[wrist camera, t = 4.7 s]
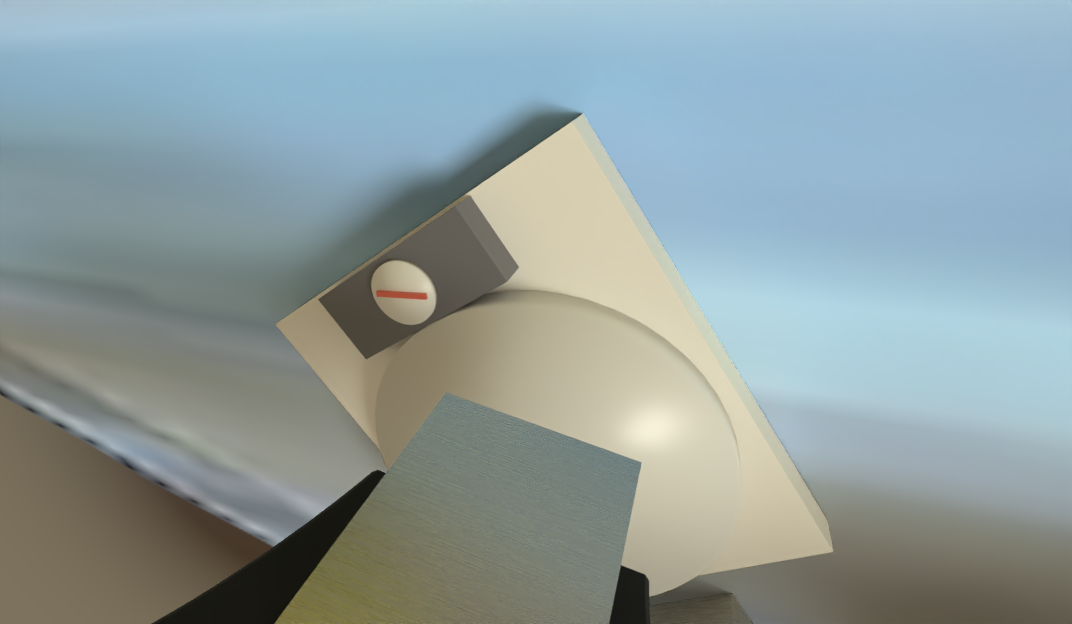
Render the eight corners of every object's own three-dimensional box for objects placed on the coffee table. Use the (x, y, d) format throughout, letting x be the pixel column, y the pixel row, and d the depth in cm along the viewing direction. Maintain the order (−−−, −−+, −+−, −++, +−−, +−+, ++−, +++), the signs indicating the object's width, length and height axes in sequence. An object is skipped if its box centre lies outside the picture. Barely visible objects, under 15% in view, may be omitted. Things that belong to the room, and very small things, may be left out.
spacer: (641, 462, 11) (580, 765, 6) (592, 587, 13) (521, 877, 8) (446, 392, 11) (272, 625, 7) (430, 521, 13) (288, 760, 9)
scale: (827, 522, 18) (839, 588, 16) (520, 583, 25) (501, 637, 23) (583, 113, 15) (557, 131, 13) (297, 309, 21) (248, 342, 19)
